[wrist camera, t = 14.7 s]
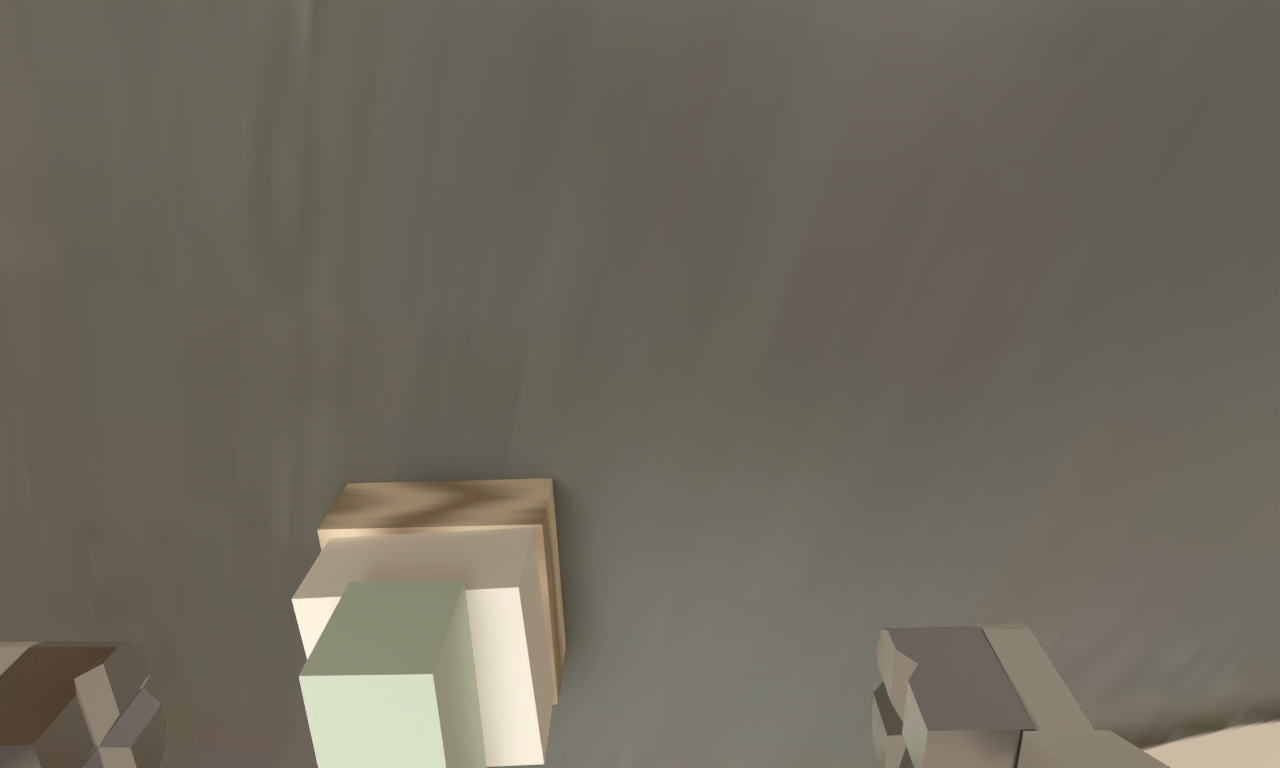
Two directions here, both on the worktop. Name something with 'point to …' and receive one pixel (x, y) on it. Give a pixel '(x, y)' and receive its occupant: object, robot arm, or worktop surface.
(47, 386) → the worktop surface
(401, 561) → the tower top
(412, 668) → the green bar
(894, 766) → the robot arm
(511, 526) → the tower base
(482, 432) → the worktop surface
